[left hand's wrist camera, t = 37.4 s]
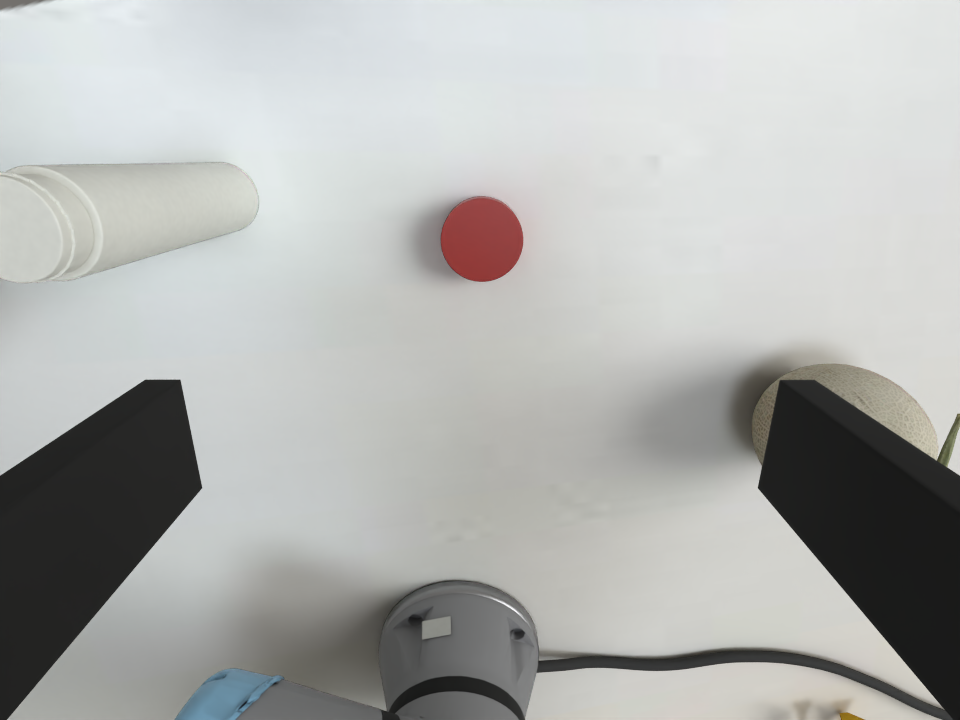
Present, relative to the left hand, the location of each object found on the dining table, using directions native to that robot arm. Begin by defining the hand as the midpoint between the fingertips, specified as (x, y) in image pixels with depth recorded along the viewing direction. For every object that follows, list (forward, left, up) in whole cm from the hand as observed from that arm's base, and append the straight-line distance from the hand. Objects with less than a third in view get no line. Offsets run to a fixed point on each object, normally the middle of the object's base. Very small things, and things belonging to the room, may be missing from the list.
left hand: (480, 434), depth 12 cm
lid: (0, 0, -28) cm, 29 cm away
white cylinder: (+19, 0, -30) cm, 36 cm away
